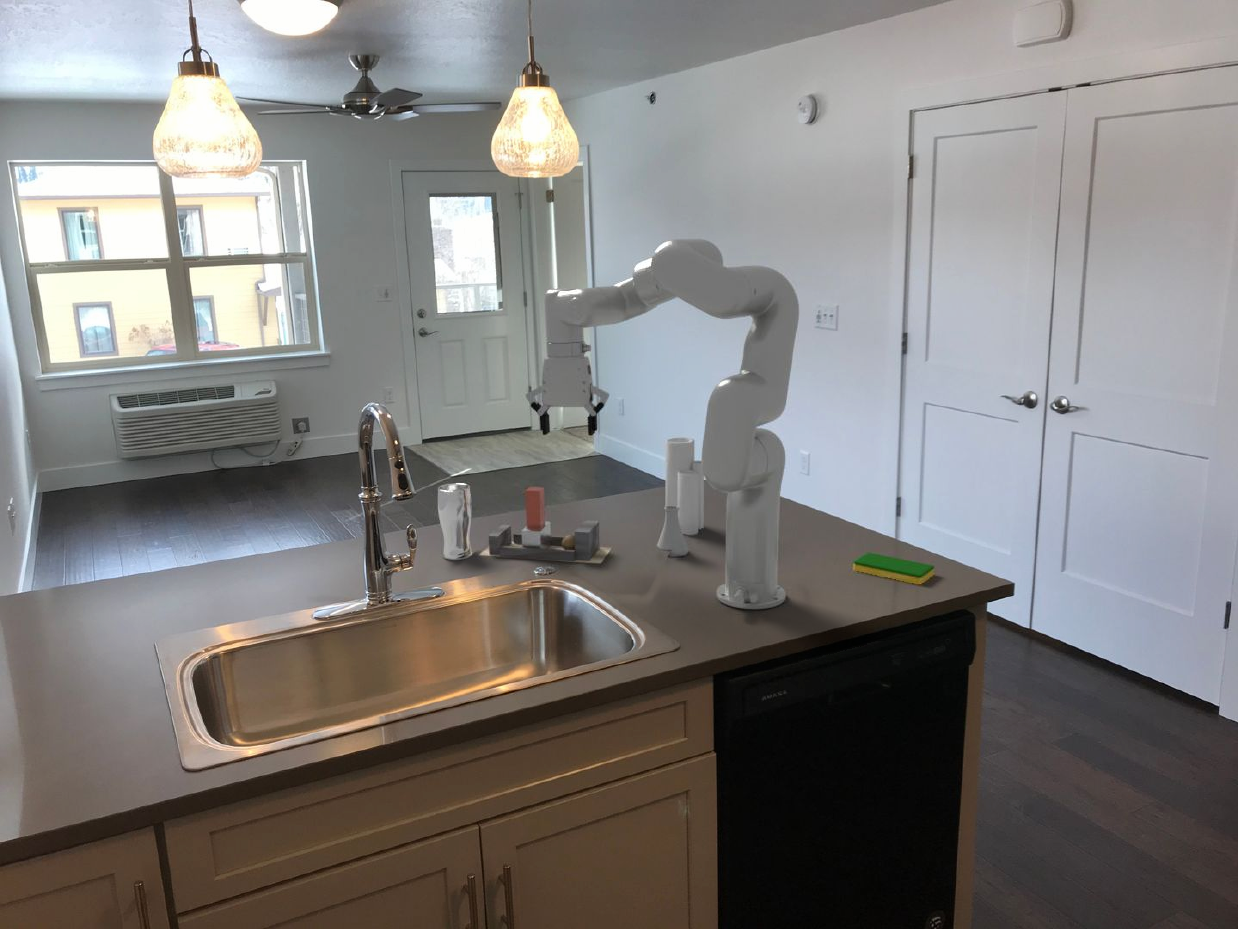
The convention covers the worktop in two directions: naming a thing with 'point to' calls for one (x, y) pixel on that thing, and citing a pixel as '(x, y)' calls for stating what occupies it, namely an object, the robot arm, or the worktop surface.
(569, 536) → the walnut
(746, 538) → the robot arm
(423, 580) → the worktop surface
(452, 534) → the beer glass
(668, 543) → the flask
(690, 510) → the vase
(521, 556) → the cracker board
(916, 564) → the dish sponge
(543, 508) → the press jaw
